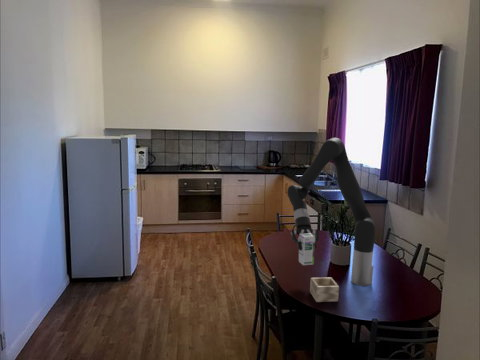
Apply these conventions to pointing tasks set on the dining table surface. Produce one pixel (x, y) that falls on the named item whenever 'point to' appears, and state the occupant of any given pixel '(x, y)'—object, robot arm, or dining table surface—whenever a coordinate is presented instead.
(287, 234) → the dining table surface
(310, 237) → the syrup box
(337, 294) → the holder
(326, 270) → the dining table surface
